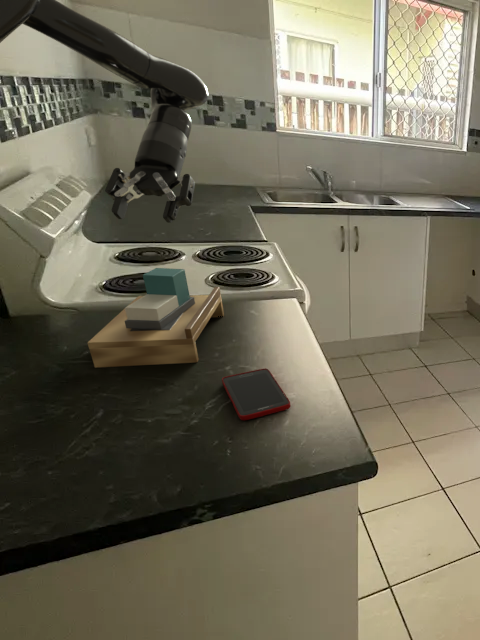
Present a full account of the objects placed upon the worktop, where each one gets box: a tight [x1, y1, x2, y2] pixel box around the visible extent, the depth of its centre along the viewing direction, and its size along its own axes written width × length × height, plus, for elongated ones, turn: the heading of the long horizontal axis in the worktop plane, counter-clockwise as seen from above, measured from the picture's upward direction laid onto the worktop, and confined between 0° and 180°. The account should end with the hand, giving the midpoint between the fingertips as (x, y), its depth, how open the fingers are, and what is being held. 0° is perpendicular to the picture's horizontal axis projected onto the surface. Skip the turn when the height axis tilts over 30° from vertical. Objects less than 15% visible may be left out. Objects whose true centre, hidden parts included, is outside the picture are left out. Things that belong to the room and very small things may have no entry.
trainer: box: [124, 267, 195, 329], centre depth 94 cm, size 14×6×8 cm, turn 8°
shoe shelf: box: [87, 286, 225, 369], centre depth 96 cm, size 16×24×7 cm, turn 18°
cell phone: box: [221, 368, 292, 421], centre depth 81 cm, size 8×15×1 cm, turn 39°
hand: (143, 218), depth 91 cm, fingers open, 8 cm apart
